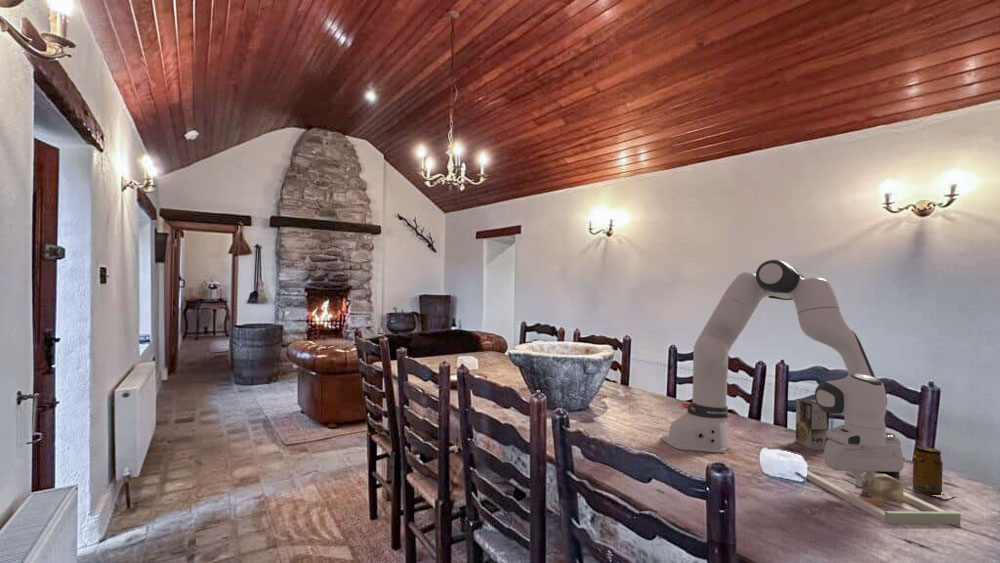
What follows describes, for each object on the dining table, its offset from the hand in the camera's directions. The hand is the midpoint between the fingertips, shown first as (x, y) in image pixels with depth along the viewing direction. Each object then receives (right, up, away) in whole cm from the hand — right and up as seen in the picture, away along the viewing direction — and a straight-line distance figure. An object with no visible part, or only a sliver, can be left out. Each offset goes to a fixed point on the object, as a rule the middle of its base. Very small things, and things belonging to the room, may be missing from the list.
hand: (863, 486), depth 124 cm
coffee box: (+14, -4, +41) cm, 44 cm away
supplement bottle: (+21, -4, +18) cm, 27 cm away
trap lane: (+1, -2, 0) cm, 3 cm away
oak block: (+5, -3, 0) cm, 6 cm away
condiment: (+22, -4, +4) cm, 22 cm away
